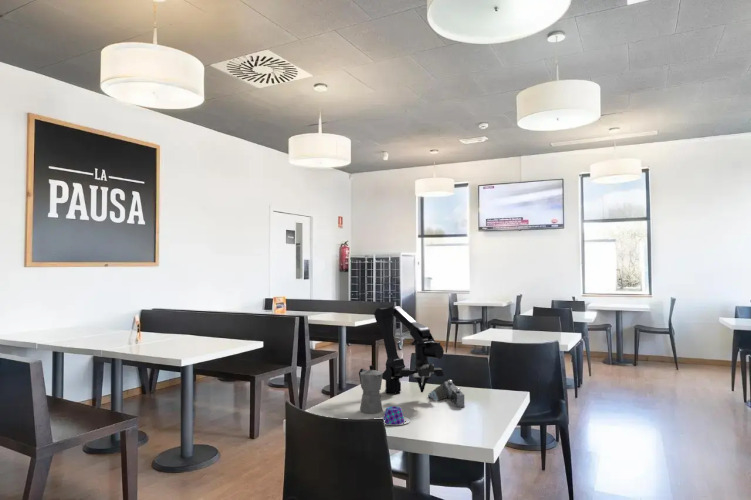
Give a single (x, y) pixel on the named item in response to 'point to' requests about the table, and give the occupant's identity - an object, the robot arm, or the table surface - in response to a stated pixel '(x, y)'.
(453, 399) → the stop rail
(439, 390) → the chocolate cake
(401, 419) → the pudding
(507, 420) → the table surface
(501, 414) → the table surface
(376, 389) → the coffeepot
